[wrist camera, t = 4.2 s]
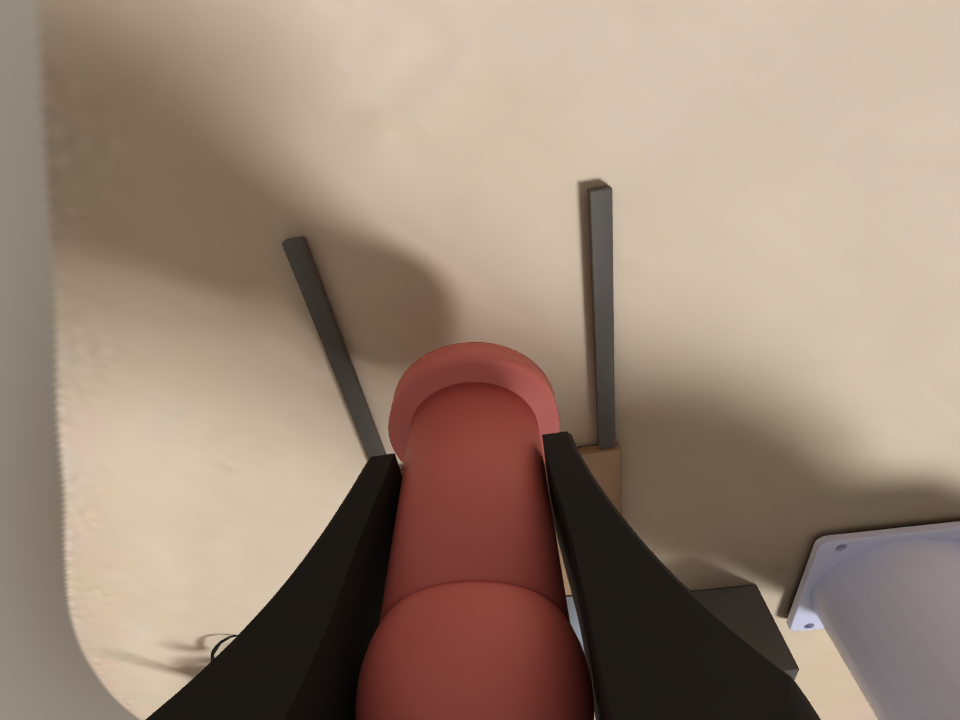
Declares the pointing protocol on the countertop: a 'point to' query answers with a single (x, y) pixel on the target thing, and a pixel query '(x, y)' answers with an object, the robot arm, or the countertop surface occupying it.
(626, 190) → the countertop surface
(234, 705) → the robot arm
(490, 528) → the pawn
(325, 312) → the board
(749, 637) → the die
